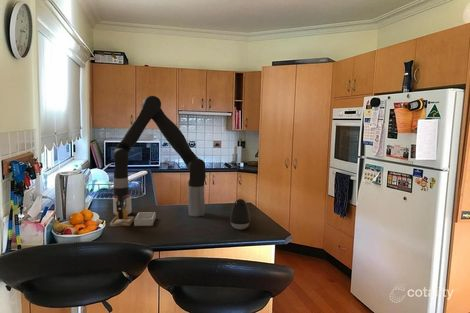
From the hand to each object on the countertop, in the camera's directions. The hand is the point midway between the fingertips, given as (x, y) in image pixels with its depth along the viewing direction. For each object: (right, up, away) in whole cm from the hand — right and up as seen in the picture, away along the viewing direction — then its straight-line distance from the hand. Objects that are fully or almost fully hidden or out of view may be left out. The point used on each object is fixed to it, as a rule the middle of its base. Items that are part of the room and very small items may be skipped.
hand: (122, 217), depth 176 cm
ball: (0, +2, 0) cm, 2 cm away
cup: (-6, -1, +18) cm, 19 cm away
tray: (0, -3, 0) cm, 3 cm away
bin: (+12, -3, +2) cm, 12 cm away
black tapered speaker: (+63, -4, -7) cm, 63 cm away
